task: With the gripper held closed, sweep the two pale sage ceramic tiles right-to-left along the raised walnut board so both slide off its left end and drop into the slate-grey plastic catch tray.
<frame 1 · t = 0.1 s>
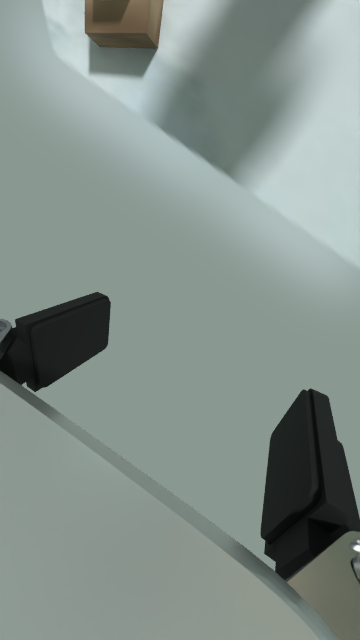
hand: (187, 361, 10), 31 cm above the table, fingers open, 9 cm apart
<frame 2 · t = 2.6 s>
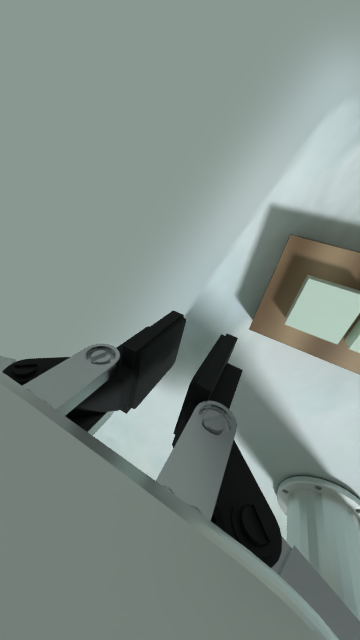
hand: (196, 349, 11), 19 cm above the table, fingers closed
tile a: (321, 305, 22), point 3 cm above the table, touching board
board: (342, 305, 24), on the table
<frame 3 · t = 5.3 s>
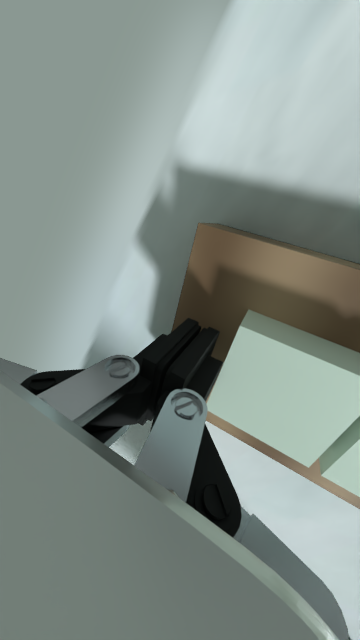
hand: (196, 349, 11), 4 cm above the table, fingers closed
tile a: (278, 373, 11), point 3 cm above the table, touching gripper
board: (316, 361, 13), on the table
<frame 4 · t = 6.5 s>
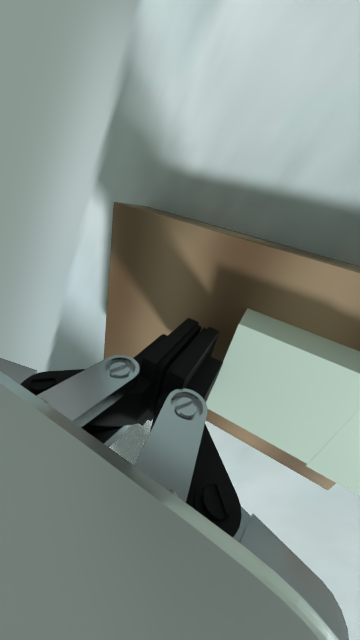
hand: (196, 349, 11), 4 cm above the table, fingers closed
tile a: (277, 371, 11), point 3 cm above the table, touching board, gripper, tile b
board: (235, 328, 14), on the table
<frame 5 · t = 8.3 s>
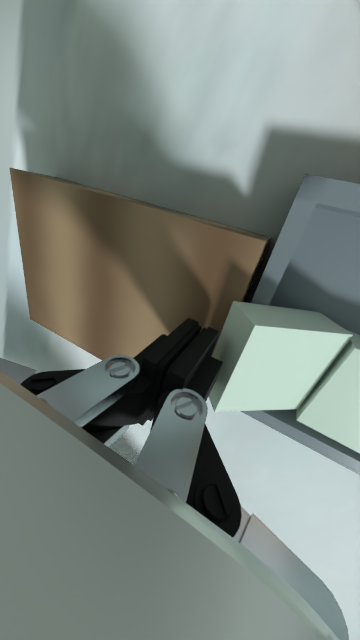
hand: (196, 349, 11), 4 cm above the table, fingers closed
tile a: (258, 347, 12), point 2 cm above the table, tilted 38°, touching catch tray
board: (133, 283, 16), on the table
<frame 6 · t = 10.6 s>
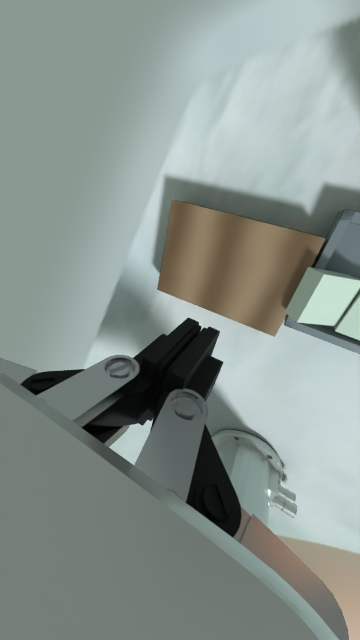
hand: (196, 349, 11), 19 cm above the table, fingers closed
tile a: (315, 293, 22), point 2 cm above the table, tilted 38°, touching catch tray
board: (230, 265, 27), on the table
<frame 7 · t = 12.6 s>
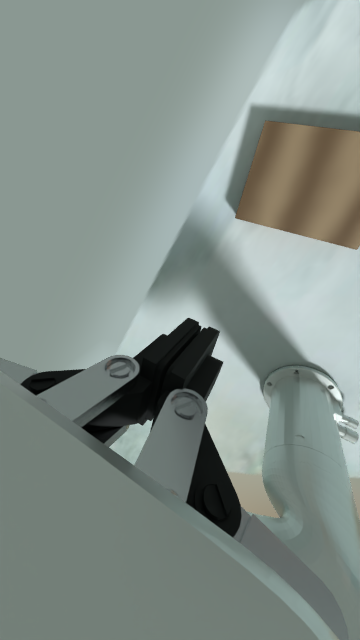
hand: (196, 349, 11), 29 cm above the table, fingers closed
board: (310, 189, 29), on the table
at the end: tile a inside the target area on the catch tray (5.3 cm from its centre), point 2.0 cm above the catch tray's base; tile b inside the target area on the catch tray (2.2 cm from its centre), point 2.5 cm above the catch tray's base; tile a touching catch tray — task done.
